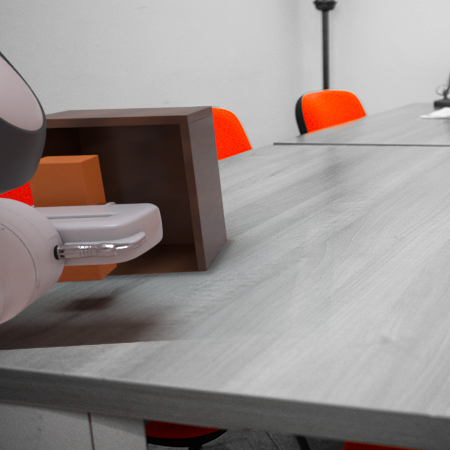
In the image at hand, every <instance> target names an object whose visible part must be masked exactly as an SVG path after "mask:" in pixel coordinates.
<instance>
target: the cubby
mask: <svg viewBox="0 0 450 450" xmlns="http://www.w3.org/2000/svg"><path fill="white" fill-rule="evenodd" d="M213 112H214V111H213V106H212V105H204V106H203V105H201V106H169V107H166V106H165V107H164V106H163V107H135V108H133V107H131V108H99V109H98V108H97V109H67V110H62V111H58V112H52V113H47V114H45V116H46V139H45V144H44V149H43V152H42V156H41V158H44V157H50V156H83V155H98V159H99V165H100V170H101V176H102V182H103V188H104V194H105V200H106V202H115V204H142V203H150V204H153V205H155V206H157V207H158V208H159V211H160V215H161V221H162V230H163V237H162V239H161V241H160V242H159V243H157V244H156V245H155V246H154V247H152V248H151V249H149V250H148V251H146V252H145V253H143V254H141V255H140V256H138V257H136V258H134V259H131V260H129V261H125V262H121V263H116V264H117V266H116V267H115V268H114V269H113V270H112V271H111V272H110V273H109V274H108V275H106V276H105V277H115V276H116V277H118V276H119V277H120V276H138V275H159V274H179V273H201V272H207V271H209V269H210V267H211V266H212V264H213V262H214V261H215V259H216V258H217V257H218V255H219V254H220V252H221V251H222V249H223V248H224V247H225V245H226V243H227V242H228V237H227V227H226V220H225V219H226V218H225V211H224V202H223V193H222V185H221V176H220V166H219V158H218V149H217V139H216V132H215V131H216V130H215V123H214V115H213Z"/></svg>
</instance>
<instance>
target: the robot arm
mask: <svg viewBox="0 0 450 450" xmlns="http://www.w3.org/2000/svg"><path fill="white" fill-rule="evenodd" d="M45 115H46V113H45V109H44V108H43V105H42V103H41V102H40V100H39V97H38V96H37V95H36V93H35V91H34V90H33V89H32V87H31V86H30V85H29V83H28V81H26V79H25V77H23V76H22V74H21V73H20V72H19V71H18V69H16V67H15V66H14V65H13V63H11V61H10V60H9V59H8V58H7V57H6V56H5V54H4V53H2V51H0V195H3V194H6V193H8V192H12V191H13V190H16V189H18V188H21V187H23V186H25V185H27V184H28V183H29V181H30V180H31V179H32V177H33V176H34V174H35V172H36V170H37V167H38V165H39V162H40V159H41V156H42V152H43V149H44V144H45V139H46V116H45ZM162 237H163V230H162V221H161V215H160V211H159V208H158V207H157V206H155V205H153V204H150V203H142V204H115V202H105V203H98V204H97V205H88V206H61V207H34V204H33V205H29V204H27V203H25V202H22V201H20V200H16V199H12V198H6V197H0V325H2V324H4V323H7V322H8V321H10V320H12V319H13V318H15V317H16V316H17V315H19V314H20V313H22V312H23V311H24V310H25V309H27V308H28V307H29V306H30V305H32V304H33V303H35V302H36V301H37V300H38V299H39V298H41V297H42V296H43V295H45V294H46V293H47V292H48V291H50V290H51V289H52V288H53V287H54V286H55V285H56V284H57V283H58V282H57V281H58V279H59V278H60V276H61V274H62V271H63V268H64V266H78V265H100V264H114V263H121V262H125V261H129V260H131V259H134V258H136V257H138V256H140V255H141V254H143V253H145V252H146V251H148V250H149V249H151V248H152V247H154V246H155V245H156V244H157V243H159V242H160V241H161V239H162Z"/></svg>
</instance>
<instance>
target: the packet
mask: <svg viewBox="0 0 450 450" xmlns="http://www.w3.org/2000/svg"><path fill="white" fill-rule="evenodd" d="M28 183H29V188H30V193H31V197H32V202H33V205H34V207H61V206H88V205H97V204H98V203H105V202H106V200H105V194H104V188H103V182H102V176H101V170H100V165H99V159H98V155H83V156H50V157H44V158H41V159H40V162H39V165H38V167H37V170H36V172H35V174H34V176H33V177H32V179H31V180H30V181H29V182H28ZM116 266H117V264H116V263H114V264H100V265H78V266H64V268H63V271H62V274H61V276H60V278H59V279H58V281H57V282H56V283H67V282H68V283H71V282H89V281H91V282H92V281H102V280H103V279H105V277H107V276H106V275H108V274H109V273H110V272H111V271H112V270H113V269H114V268H115V267H116Z"/></svg>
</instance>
